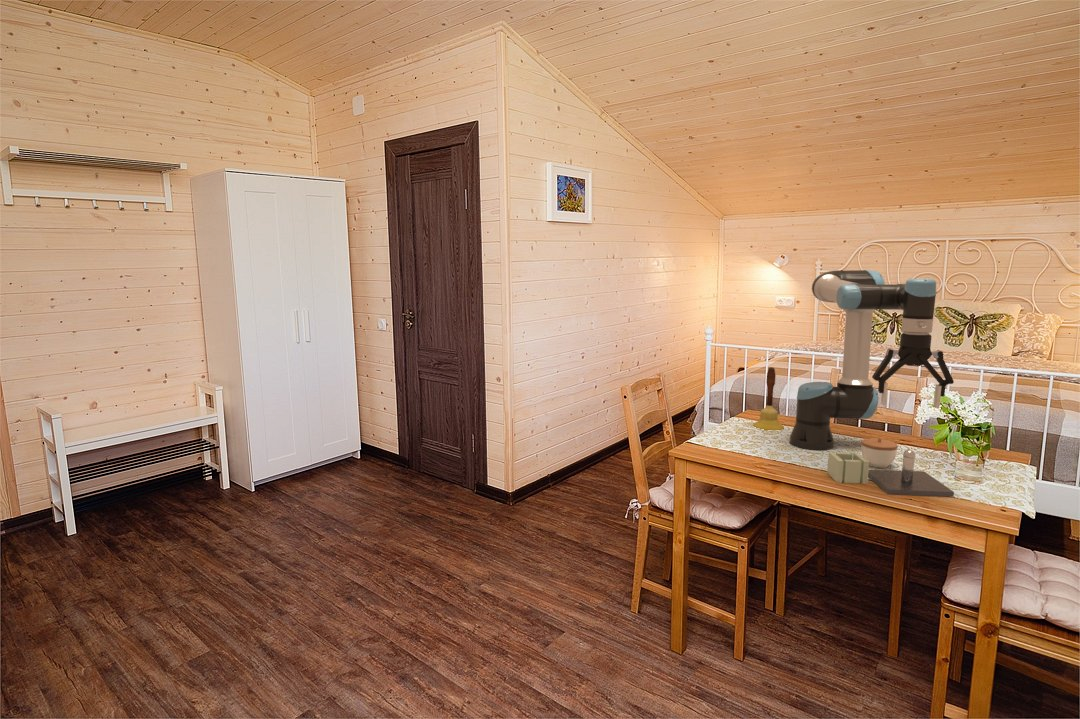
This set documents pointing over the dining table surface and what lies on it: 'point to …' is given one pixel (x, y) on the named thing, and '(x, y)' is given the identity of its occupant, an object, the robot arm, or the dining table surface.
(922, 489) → the keeper base
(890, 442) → the lidded jar
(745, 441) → the dining table surface
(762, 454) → the dining table surface
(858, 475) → the square link
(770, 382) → the handbell
